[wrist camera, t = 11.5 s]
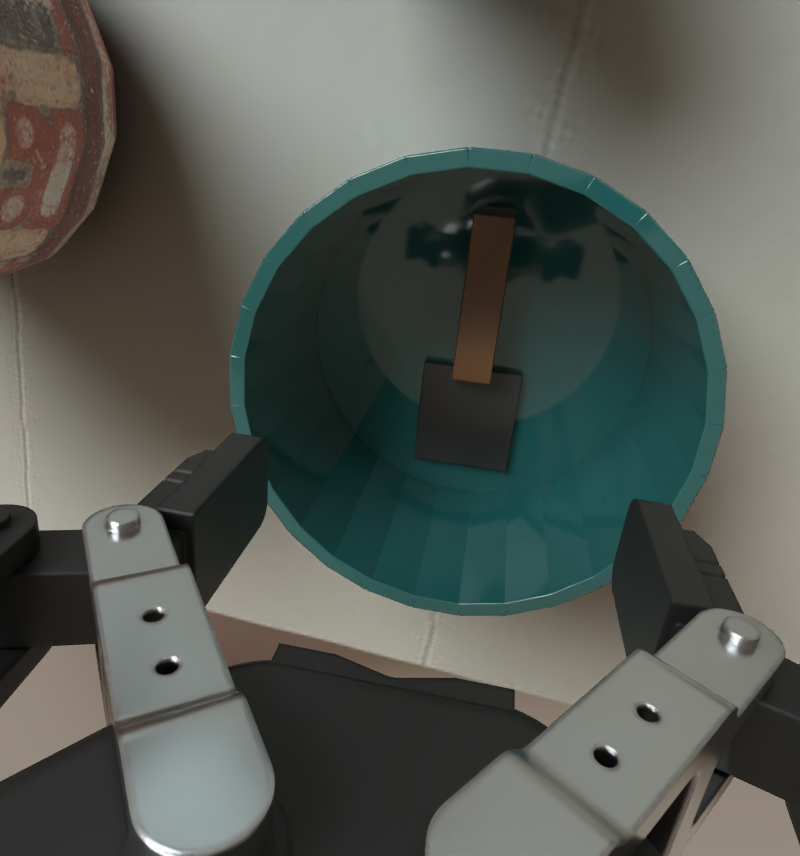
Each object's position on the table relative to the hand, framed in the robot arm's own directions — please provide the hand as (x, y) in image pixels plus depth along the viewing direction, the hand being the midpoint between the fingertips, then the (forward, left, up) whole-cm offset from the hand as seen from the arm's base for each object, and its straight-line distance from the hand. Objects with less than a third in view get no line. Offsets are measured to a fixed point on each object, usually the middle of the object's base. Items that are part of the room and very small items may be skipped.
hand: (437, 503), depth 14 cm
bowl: (+1, 0, -19) cm, 19 cm away
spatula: (+1, 0, -19) cm, 19 cm away
